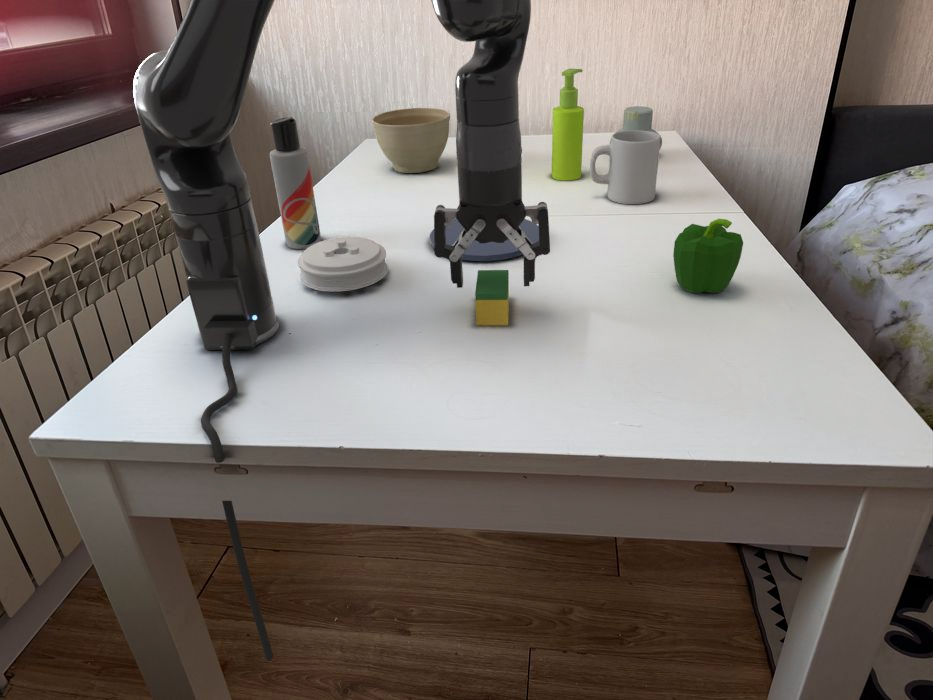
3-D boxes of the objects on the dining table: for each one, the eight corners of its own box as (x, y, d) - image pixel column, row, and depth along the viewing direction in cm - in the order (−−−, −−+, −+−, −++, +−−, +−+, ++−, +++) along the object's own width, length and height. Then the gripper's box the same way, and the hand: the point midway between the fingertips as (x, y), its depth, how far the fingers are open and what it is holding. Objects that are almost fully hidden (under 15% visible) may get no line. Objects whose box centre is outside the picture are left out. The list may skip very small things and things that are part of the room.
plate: (543, 262, 104) (543, 254, 103) (424, 263, 105) (423, 256, 105) (540, 219, 119) (540, 212, 119) (436, 221, 121) (435, 214, 120)
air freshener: (633, 148, 155) (637, 102, 150) (665, 155, 150) (670, 106, 144) (603, 159, 149) (606, 111, 144) (635, 166, 143) (639, 116, 138)
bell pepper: (656, 281, 96) (664, 212, 91) (704, 269, 99) (714, 202, 94) (696, 306, 90) (707, 233, 85) (747, 292, 92) (760, 221, 87)
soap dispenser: (587, 172, 141) (592, 67, 131) (573, 182, 136) (577, 73, 126) (561, 169, 144) (564, 66, 134) (546, 178, 139) (548, 72, 129)
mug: (650, 188, 131) (655, 129, 125) (659, 204, 123) (665, 141, 118) (586, 190, 131) (588, 131, 126) (590, 205, 124) (593, 143, 118)
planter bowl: (410, 154, 159) (406, 104, 154) (467, 163, 151) (465, 111, 145) (362, 172, 148) (355, 119, 143) (420, 183, 140) (416, 128, 134)
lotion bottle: (313, 250, 112) (292, 122, 101) (280, 249, 113) (256, 122, 102) (326, 237, 116) (307, 113, 106) (294, 236, 117) (273, 113, 107)
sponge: (508, 325, 87) (507, 293, 85) (476, 325, 88) (475, 293, 85) (508, 300, 93) (508, 269, 91) (479, 300, 94) (478, 270, 91)
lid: (284, 291, 99) (277, 258, 96) (330, 257, 109) (325, 226, 106) (362, 302, 95) (357, 269, 92) (403, 266, 105) (400, 235, 102)
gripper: (425, 170, 78) (435, 299, 87) (552, 166, 77) (550, 296, 86) (431, 152, 85) (440, 273, 93) (549, 147, 84) (547, 270, 92)
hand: (493, 284), depth 89 cm, fingers open, 8 cm apart
